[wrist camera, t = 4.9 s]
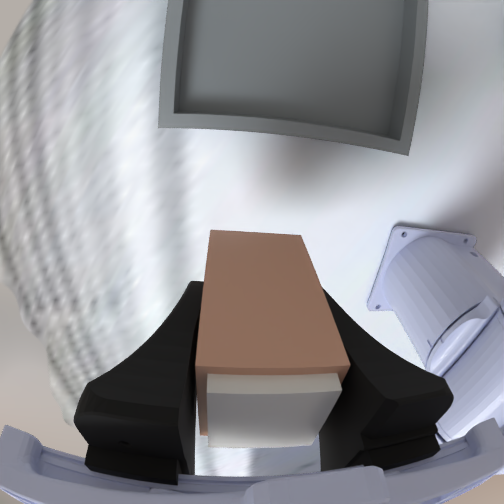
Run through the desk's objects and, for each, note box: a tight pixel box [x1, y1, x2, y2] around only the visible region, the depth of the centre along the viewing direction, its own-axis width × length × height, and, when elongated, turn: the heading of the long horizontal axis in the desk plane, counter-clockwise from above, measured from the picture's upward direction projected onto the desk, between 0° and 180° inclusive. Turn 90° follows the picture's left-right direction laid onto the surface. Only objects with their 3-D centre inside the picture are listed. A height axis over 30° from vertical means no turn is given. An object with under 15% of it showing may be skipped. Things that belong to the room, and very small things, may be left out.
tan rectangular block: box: [195, 230, 350, 448], centre depth 11 cm, size 4×4×8 cm
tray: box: [158, 0, 428, 156], centre depth 14 cm, size 15×15×2 cm
